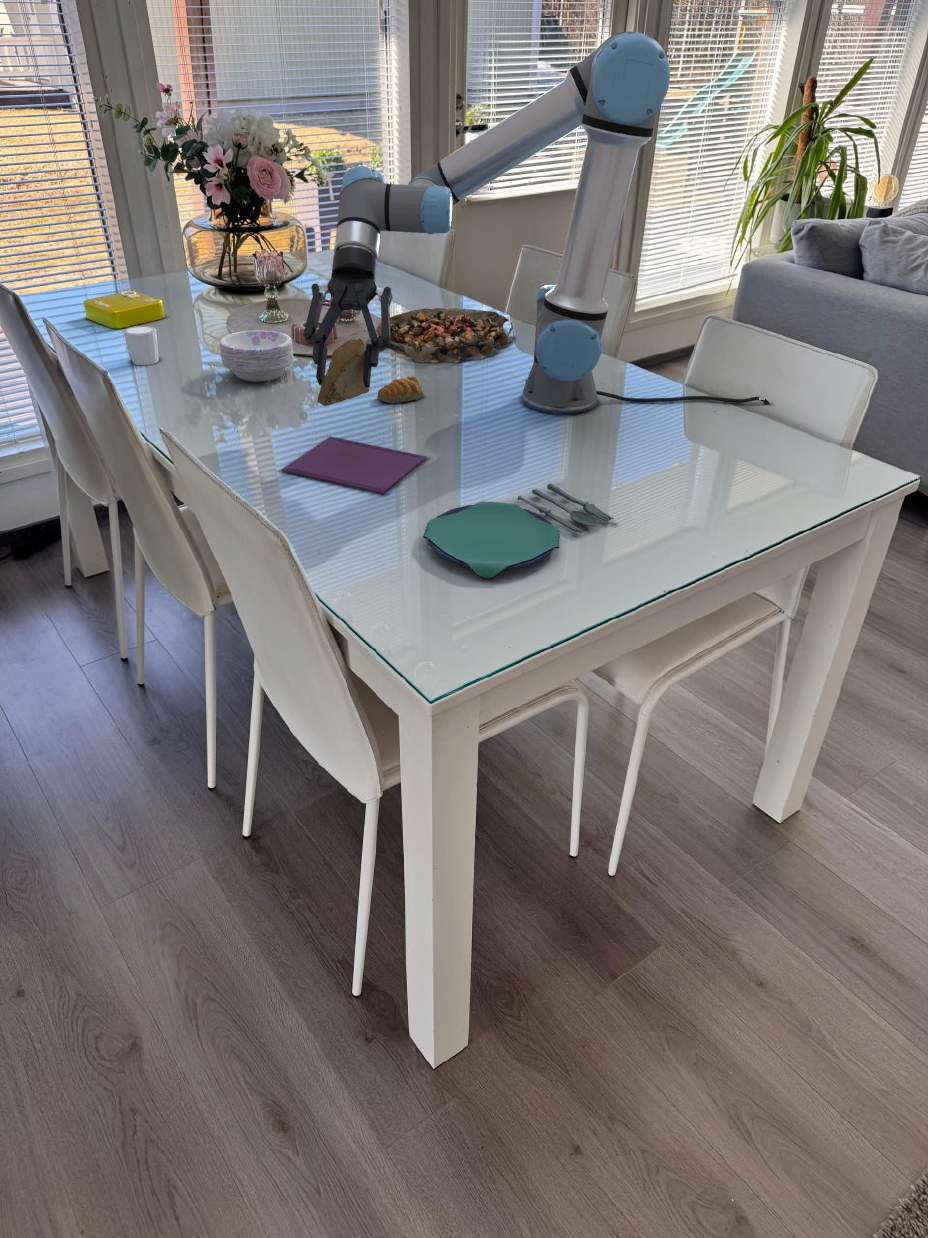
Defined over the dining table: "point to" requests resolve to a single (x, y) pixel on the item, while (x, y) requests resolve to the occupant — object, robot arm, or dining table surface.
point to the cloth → (355, 465)
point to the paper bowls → (257, 354)
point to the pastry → (401, 390)
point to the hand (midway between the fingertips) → (343, 382)
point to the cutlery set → (503, 533)
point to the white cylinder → (142, 344)
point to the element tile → (124, 309)
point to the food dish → (448, 334)
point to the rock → (344, 374)
